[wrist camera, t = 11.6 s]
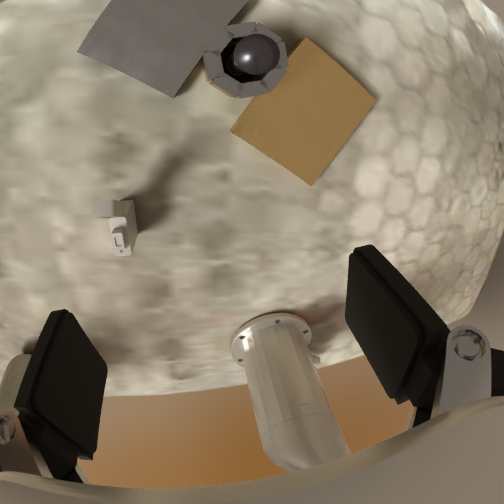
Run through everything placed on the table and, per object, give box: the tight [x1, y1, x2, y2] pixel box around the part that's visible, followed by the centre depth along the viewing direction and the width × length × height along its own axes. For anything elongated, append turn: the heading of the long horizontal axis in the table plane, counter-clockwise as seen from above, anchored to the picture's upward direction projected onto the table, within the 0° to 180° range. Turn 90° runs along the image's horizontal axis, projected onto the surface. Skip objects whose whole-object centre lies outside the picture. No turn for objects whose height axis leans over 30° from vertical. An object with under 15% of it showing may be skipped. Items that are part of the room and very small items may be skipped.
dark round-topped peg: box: [226, 34, 280, 75], centre depth 19 cm, size 3×3×9 cm
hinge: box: [77, 0, 376, 186], centre depth 21 cm, size 27×12×5 cm, turn 55°
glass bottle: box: [0, 354, 31, 416], centre depth 27 cm, size 10×10×28 cm
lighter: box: [94, 200, 138, 256], centre depth 25 cm, size 7×2×8 cm, turn 177°
